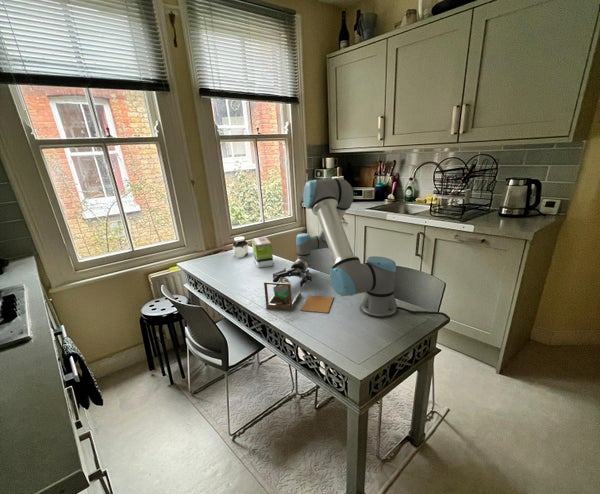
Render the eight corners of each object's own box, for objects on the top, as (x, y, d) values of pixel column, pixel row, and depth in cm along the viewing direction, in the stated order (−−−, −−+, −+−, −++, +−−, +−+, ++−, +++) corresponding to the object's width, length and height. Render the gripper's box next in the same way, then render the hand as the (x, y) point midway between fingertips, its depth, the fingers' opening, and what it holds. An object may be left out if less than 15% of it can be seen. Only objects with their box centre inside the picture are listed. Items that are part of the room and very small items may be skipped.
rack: (301, 295, 154) (300, 270, 148) (291, 311, 139) (290, 284, 134) (277, 293, 157) (275, 269, 151) (266, 308, 143) (263, 282, 137)
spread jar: (244, 251, 223) (242, 235, 219) (253, 255, 215) (251, 238, 211) (229, 255, 217) (227, 239, 212) (238, 259, 209) (235, 242, 204)
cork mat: (333, 298, 150) (333, 297, 149) (327, 313, 136) (327, 312, 136) (309, 296, 153) (309, 295, 152) (301, 310, 139) (301, 310, 139)
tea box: (253, 260, 205) (251, 238, 199) (268, 258, 208) (266, 236, 201) (257, 268, 192) (255, 244, 186) (273, 265, 194) (271, 242, 188)
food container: (288, 307, 143) (286, 287, 138) (274, 307, 144) (273, 287, 140) (293, 296, 154) (292, 277, 149) (281, 295, 155) (280, 276, 151)
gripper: (322, 275, 167) (312, 292, 149) (277, 273, 174) (263, 288, 155) (321, 262, 164) (312, 277, 146) (276, 260, 171) (262, 274, 152)
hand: (287, 283), depth 151 cm, fingers open, 13 cm apart
